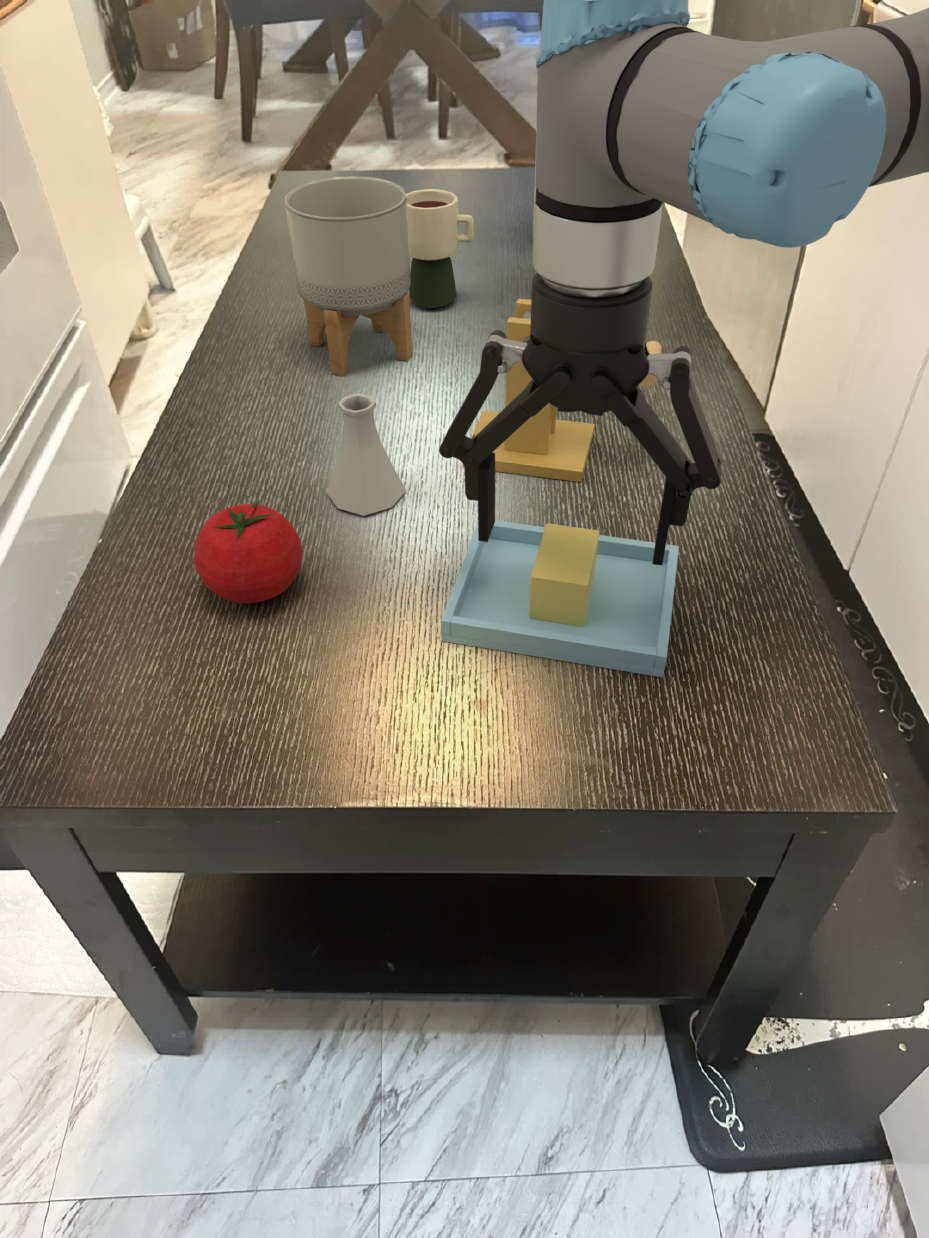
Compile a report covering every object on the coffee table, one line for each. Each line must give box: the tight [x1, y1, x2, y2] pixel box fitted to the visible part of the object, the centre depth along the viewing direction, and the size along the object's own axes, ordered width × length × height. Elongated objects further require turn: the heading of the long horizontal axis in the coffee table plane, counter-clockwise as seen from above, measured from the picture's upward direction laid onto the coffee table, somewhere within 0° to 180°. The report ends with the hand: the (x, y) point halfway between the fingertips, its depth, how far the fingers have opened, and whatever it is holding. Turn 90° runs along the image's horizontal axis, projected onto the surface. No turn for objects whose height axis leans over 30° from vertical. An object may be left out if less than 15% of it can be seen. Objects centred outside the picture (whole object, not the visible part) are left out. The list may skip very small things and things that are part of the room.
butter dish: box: [440, 519, 680, 678], centre depth 74 cm, size 18×14×2 cm
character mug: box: [406, 188, 475, 309], centre depth 112 cm, size 11×7×13 cm, turn 83°
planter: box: [284, 175, 413, 377], centre depth 101 cm, size 13×13×18 cm
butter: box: [529, 522, 601, 627], centre depth 72 cm, size 7×4×4 cm, turn 166°
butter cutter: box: [462, 298, 596, 483], centre depth 86 cm, size 12×9×15 cm
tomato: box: [193, 500, 303, 604], centre depth 73 cm, size 9×9×8 cm
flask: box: [326, 392, 407, 517], centre depth 82 cm, size 7×7×10 cm
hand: (571, 543), depth 70 cm, fingers open, 13 cm apart
